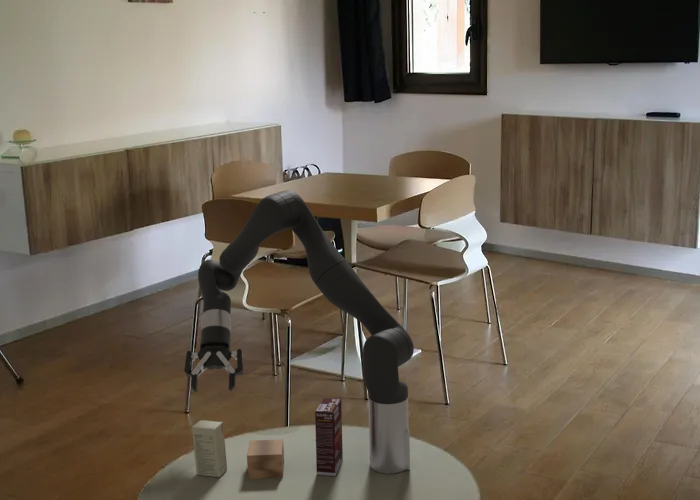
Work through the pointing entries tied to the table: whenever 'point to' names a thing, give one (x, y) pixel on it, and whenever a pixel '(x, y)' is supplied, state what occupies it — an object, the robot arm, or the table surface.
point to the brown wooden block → (265, 459)
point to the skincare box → (209, 448)
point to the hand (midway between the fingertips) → (213, 390)
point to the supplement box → (328, 436)
